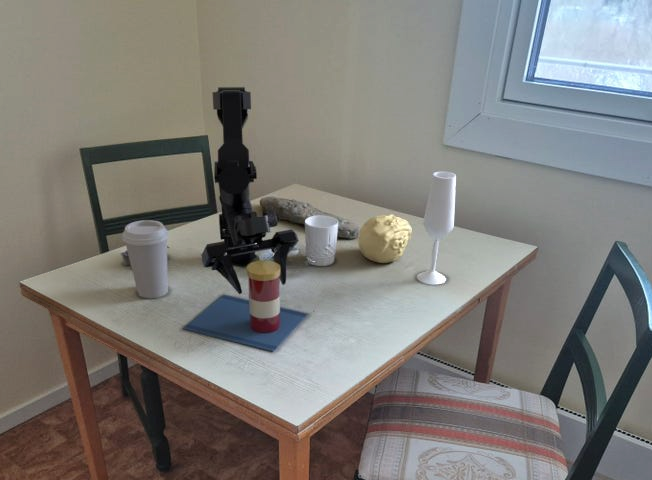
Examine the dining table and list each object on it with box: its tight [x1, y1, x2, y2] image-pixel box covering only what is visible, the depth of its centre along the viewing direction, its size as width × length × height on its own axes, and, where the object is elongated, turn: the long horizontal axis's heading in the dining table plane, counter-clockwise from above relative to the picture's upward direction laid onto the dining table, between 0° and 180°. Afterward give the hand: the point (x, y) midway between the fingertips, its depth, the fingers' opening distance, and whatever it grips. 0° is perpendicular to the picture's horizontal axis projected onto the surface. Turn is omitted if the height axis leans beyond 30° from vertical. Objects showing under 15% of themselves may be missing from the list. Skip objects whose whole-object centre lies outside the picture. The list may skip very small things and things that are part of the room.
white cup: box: [304, 215, 338, 267], centre depth 153 cm, size 8×8×10 cm
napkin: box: [182, 294, 308, 353], centre depth 130 cm, size 20×16×1 cm
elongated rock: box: [259, 196, 361, 239], centre depth 176 cm, size 35×5×10 cm
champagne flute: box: [416, 171, 457, 286], centre depth 142 cm, size 7×7×24 cm
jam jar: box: [246, 259, 281, 333], centre depth 125 cm, size 6×6×13 cm
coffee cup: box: [121, 219, 170, 299], centre depth 137 cm, size 10×10×15 cm
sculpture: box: [357, 213, 413, 264], centre depth 155 cm, size 12×12×11 cm
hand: (262, 288), depth 125 cm, fingers open, 9 cm apart
